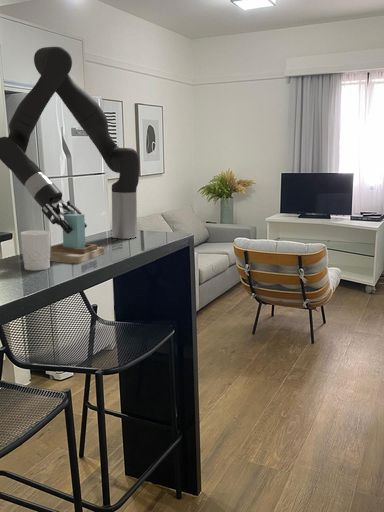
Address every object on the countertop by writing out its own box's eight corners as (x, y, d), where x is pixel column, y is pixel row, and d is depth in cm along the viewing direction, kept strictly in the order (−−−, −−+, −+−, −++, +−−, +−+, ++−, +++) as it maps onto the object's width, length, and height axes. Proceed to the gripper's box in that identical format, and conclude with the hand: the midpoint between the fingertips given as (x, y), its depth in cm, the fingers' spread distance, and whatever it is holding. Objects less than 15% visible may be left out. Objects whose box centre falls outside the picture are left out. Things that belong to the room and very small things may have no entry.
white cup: (20, 271, 137) (18, 234, 135) (24, 265, 144) (22, 230, 142) (50, 270, 138) (49, 234, 136) (52, 264, 146) (51, 230, 144)
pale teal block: (70, 248, 159) (69, 213, 157) (85, 249, 157) (84, 214, 155) (63, 251, 155) (62, 215, 153) (78, 252, 153) (77, 216, 151)
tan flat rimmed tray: (70, 250, 166) (70, 240, 165) (104, 253, 162) (104, 242, 162) (43, 260, 151) (42, 248, 150) (79, 263, 147) (78, 251, 147)
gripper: (37, 183, 147) (73, 224, 146) (63, 181, 161) (96, 219, 160) (22, 200, 150) (57, 241, 149) (49, 197, 163) (81, 234, 162)
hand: (77, 229), depth 154 cm, fingers open, 8 cm apart
